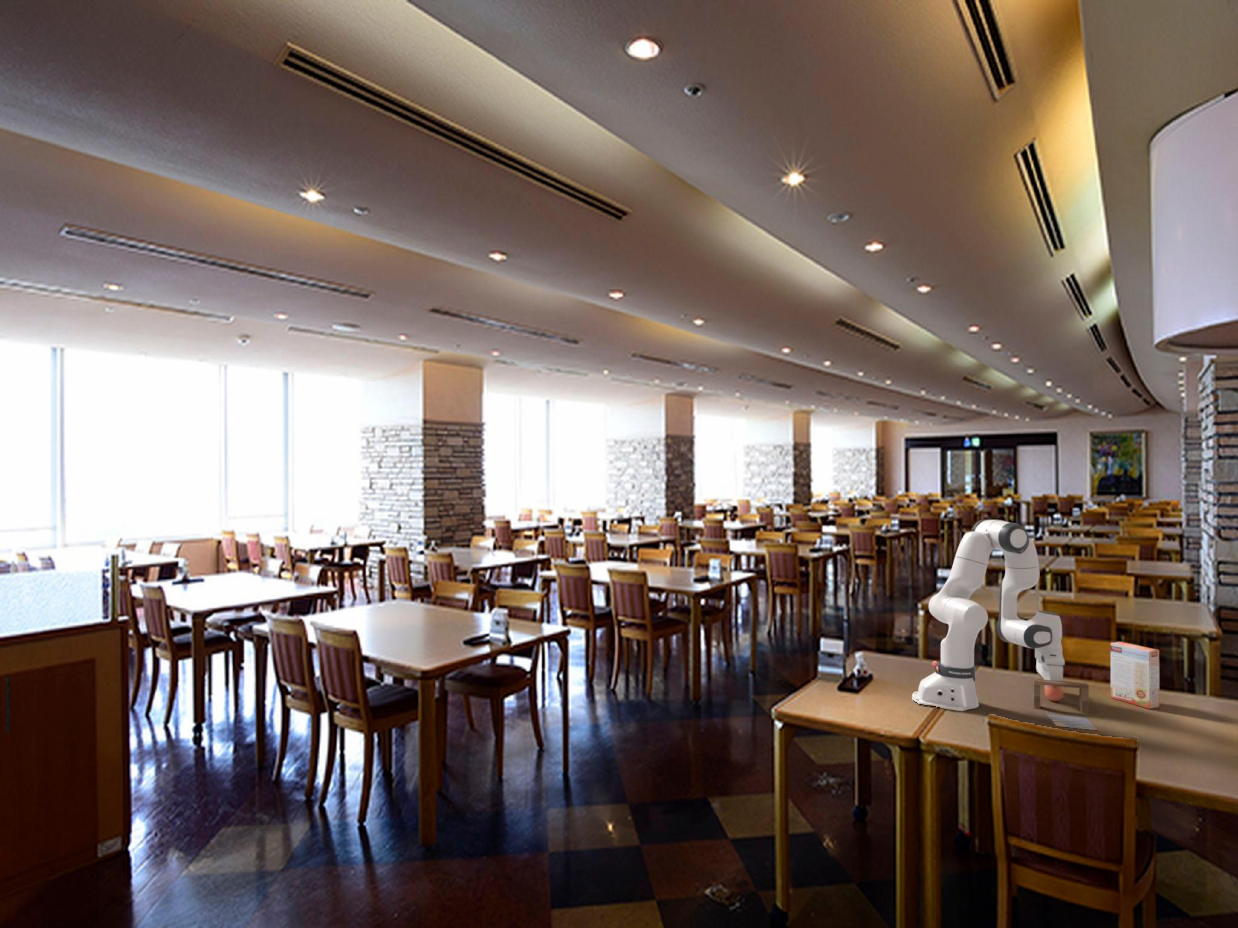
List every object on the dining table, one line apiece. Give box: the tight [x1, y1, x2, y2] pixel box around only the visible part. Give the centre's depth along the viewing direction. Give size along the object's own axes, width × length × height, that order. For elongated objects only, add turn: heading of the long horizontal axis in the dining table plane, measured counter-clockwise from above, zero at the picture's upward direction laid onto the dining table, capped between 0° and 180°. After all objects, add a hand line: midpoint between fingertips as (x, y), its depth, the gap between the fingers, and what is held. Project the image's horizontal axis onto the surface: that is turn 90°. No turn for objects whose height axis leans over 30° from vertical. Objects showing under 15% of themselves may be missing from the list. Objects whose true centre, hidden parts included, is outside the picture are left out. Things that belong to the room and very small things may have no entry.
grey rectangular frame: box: [1031, 678, 1090, 714], centre depth 256 cm, size 3×17×10 cm, turn 72°
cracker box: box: [1110, 641, 1160, 710], centre depth 262 cm, size 14×6×21 cm, turn 22°
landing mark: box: [1046, 713, 1098, 731], centre depth 242 cm, size 12×12×1 cm
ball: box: [1044, 686, 1064, 702], centre depth 265 cm, size 6×6×6 cm
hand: (1048, 690), depth 269 cm, fingers closed
